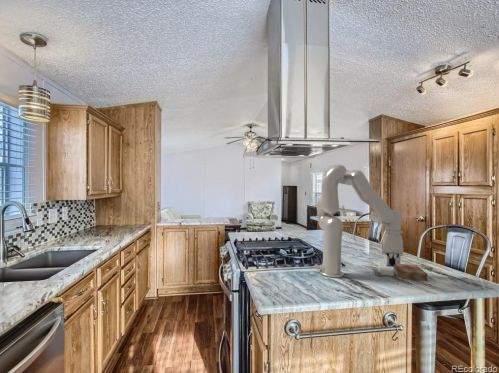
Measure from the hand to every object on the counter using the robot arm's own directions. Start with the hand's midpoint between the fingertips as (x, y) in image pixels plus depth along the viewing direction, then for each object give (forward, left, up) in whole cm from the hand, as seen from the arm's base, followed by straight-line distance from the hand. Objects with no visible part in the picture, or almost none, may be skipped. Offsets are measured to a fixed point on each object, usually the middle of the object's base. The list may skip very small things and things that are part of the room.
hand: (391, 265), depth 153 cm
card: (-3, 0, -2) cm, 4 cm away
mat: (-4, 0, -5) cm, 6 cm away
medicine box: (+5, +18, -5) cm, 19 cm away
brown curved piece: (+9, 0, -5) cm, 10 cm away
